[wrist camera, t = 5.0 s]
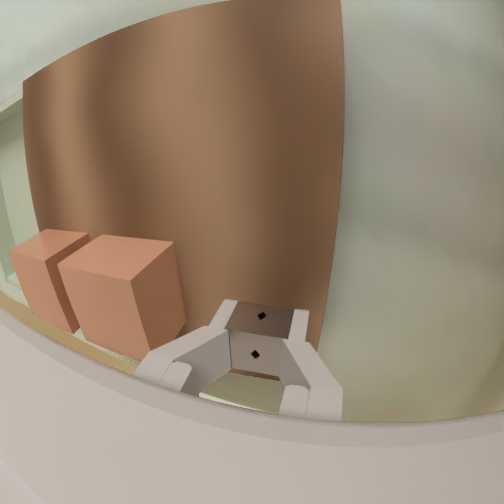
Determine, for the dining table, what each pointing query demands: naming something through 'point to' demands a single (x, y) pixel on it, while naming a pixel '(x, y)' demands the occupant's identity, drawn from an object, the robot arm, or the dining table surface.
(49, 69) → the board
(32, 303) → the tile
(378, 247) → the dining table surface
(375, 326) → the dining table surface
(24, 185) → the tray
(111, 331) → the tile
